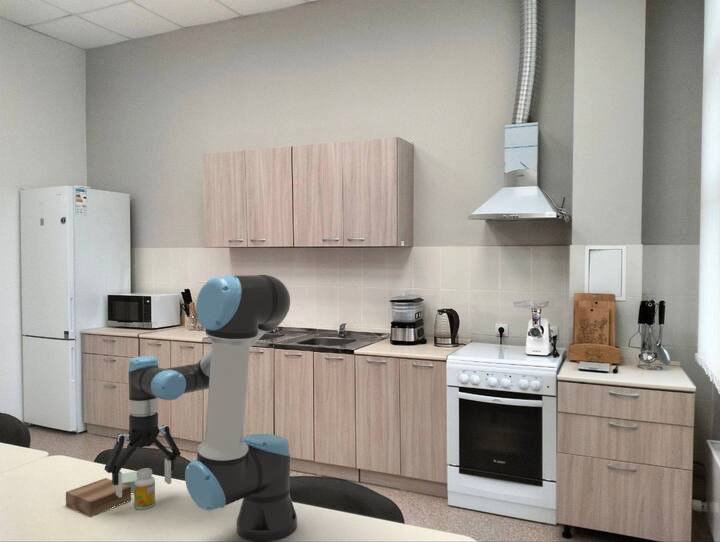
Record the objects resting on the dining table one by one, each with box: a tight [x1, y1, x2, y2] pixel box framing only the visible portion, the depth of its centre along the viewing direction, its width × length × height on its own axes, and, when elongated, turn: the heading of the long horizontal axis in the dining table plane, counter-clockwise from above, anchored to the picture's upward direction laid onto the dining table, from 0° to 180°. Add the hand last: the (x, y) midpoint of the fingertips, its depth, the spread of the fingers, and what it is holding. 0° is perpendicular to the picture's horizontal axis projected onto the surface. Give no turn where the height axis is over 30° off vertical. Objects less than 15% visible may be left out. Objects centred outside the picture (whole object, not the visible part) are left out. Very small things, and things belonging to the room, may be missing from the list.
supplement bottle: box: [133, 467, 156, 510], centre depth 157 cm, size 5×5×10 cm
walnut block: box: [65, 477, 132, 518], centre depth 158 cm, size 12×12×4 cm
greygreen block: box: [122, 470, 138, 493], centre depth 169 cm, size 8×8×4 cm
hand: (144, 489), depth 157 cm, fingers open, 13 cm apart
